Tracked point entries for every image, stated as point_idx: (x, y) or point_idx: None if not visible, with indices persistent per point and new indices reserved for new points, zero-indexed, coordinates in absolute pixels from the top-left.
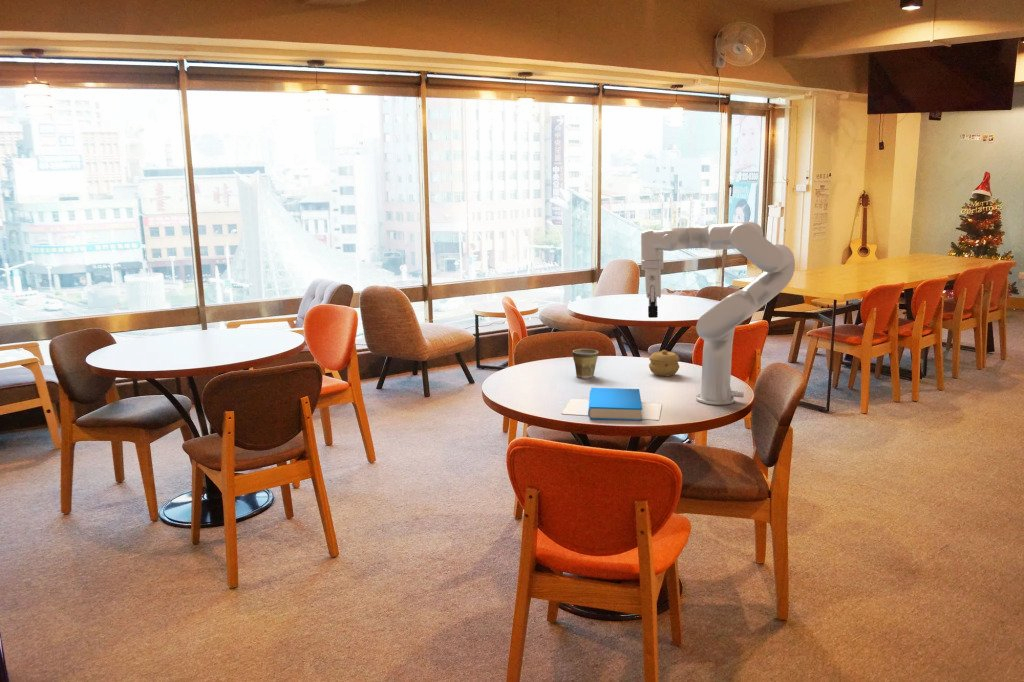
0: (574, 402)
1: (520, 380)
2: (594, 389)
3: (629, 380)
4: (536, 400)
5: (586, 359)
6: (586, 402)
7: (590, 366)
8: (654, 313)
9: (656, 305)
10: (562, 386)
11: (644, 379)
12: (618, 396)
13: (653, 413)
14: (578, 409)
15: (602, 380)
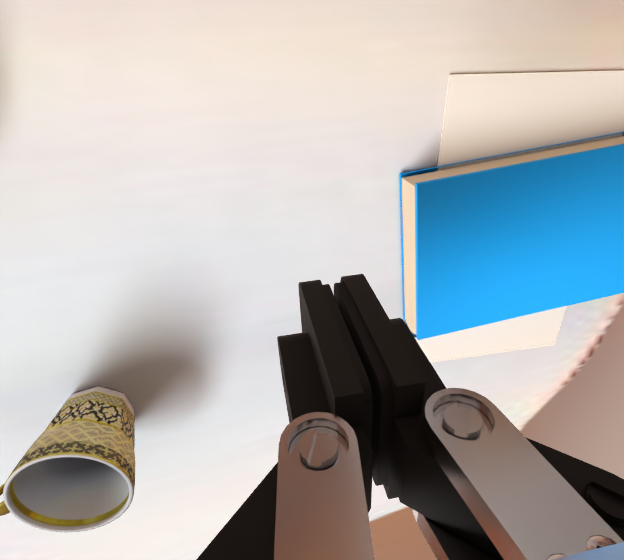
0: (451, 347)
1: None
2: (440, 326)
3: (79, 258)
4: None
5: (129, 456)
6: None
7: (118, 422)
8: (406, 335)
9: (489, 403)
10: (268, 423)
11: (21, 200)
12: (527, 237)
13: (571, 97)
14: (519, 320)
15: (132, 347)
